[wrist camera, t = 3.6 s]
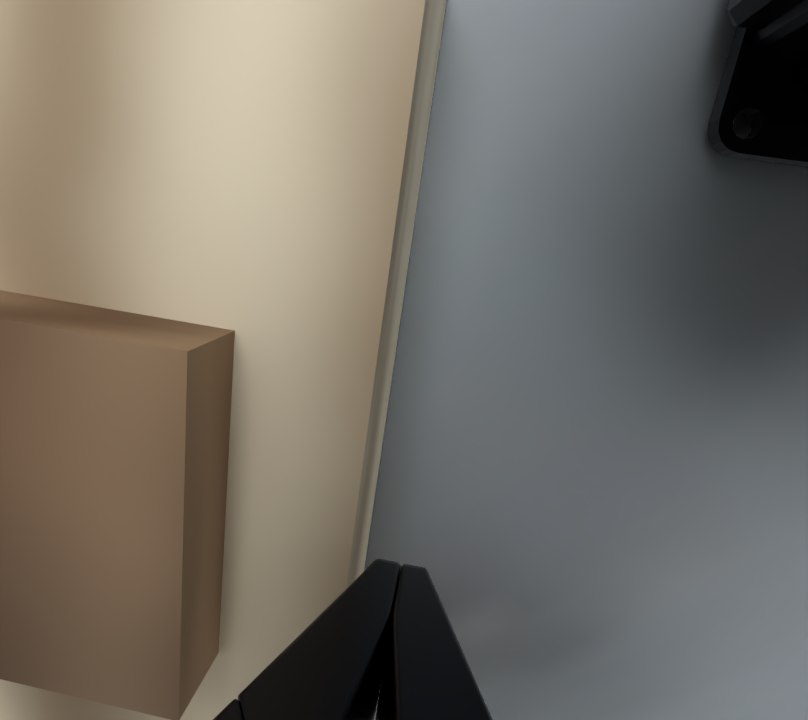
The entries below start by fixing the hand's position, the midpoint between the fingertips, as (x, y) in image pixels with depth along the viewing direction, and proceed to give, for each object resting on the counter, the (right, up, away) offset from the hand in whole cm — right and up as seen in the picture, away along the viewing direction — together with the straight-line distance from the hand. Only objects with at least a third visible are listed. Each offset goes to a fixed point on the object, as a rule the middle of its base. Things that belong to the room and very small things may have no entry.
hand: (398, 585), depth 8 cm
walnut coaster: (-7, +1, +1) cm, 7 cm away
